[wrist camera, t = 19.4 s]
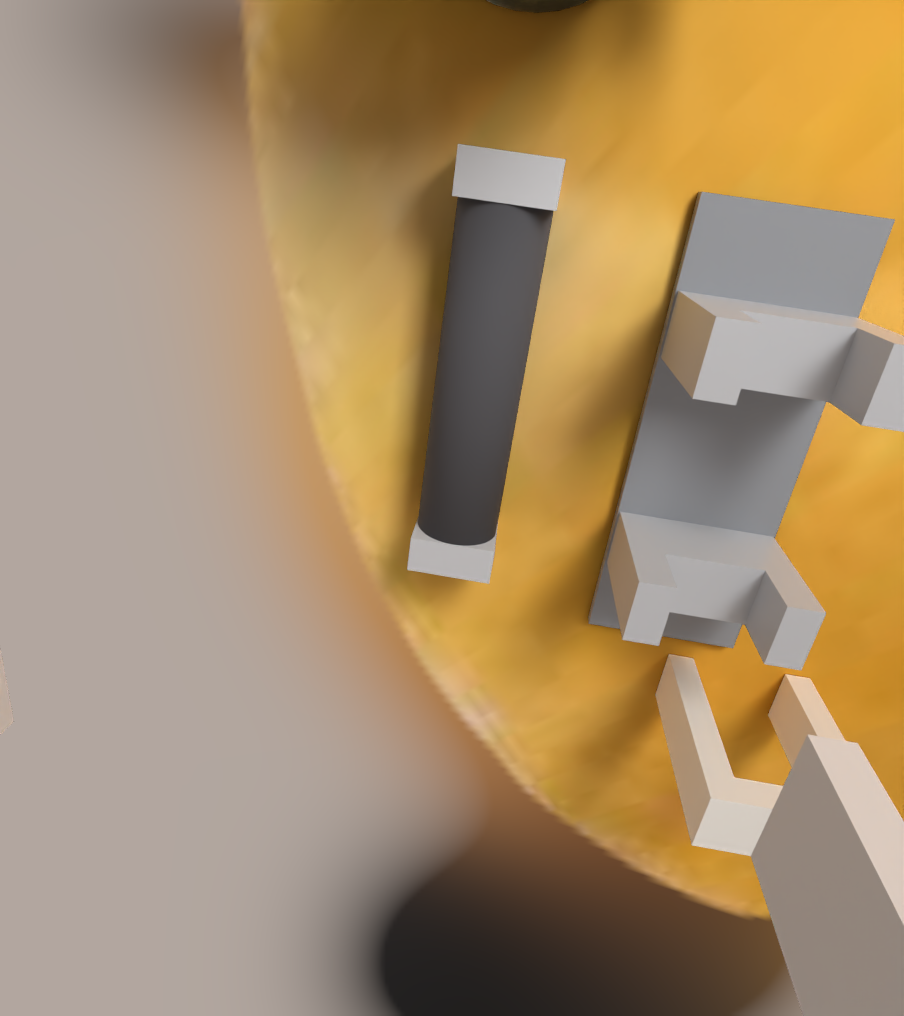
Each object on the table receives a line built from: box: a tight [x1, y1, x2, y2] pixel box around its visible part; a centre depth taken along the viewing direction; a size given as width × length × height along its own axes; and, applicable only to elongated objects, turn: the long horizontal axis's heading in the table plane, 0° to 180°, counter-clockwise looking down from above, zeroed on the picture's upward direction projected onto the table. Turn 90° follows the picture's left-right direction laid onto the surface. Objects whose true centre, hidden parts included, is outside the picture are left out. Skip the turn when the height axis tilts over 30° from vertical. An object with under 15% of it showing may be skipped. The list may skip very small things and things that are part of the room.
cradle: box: [588, 192, 904, 670], centre depth 30 cm, size 22×8×8 cm, turn 172°
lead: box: [407, 144, 566, 584], centre depth 32 cm, size 19×4×4 cm, turn 172°
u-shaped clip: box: [655, 654, 845, 856], centre depth 35 cm, size 3×8×10 cm, turn 82°
